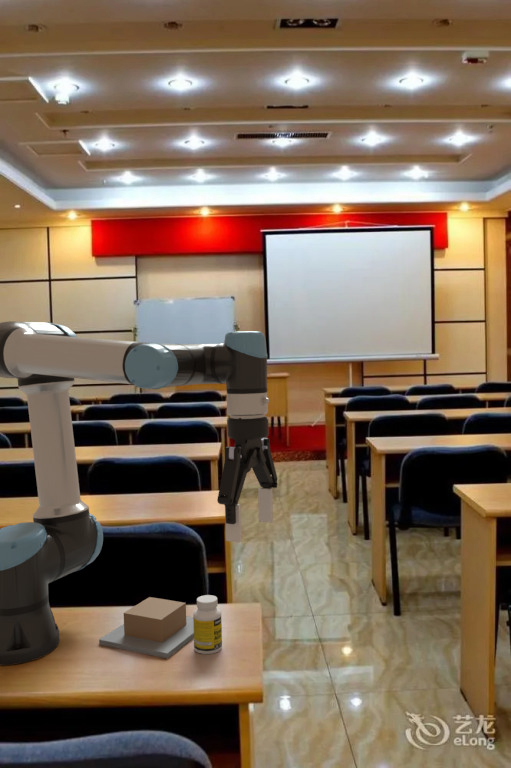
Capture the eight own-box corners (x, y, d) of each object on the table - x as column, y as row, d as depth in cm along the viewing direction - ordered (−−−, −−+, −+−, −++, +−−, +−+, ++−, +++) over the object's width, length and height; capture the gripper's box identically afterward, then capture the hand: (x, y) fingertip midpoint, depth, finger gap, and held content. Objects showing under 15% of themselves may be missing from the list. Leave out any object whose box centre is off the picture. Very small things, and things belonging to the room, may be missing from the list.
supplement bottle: (218, 656, 119) (216, 604, 119) (190, 654, 121) (188, 603, 120) (225, 643, 125) (223, 594, 124) (198, 641, 126) (197, 592, 125)
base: (99, 644, 126) (98, 617, 126) (146, 613, 140) (145, 589, 140) (167, 658, 119) (166, 629, 119) (209, 624, 133) (208, 599, 133)
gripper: (234, 424, 103) (238, 552, 104) (292, 410, 126) (294, 516, 127) (194, 422, 107) (198, 548, 108) (258, 409, 129) (260, 513, 130)
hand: (250, 531), depth 117 cm, fingers open, 13 cm apart
